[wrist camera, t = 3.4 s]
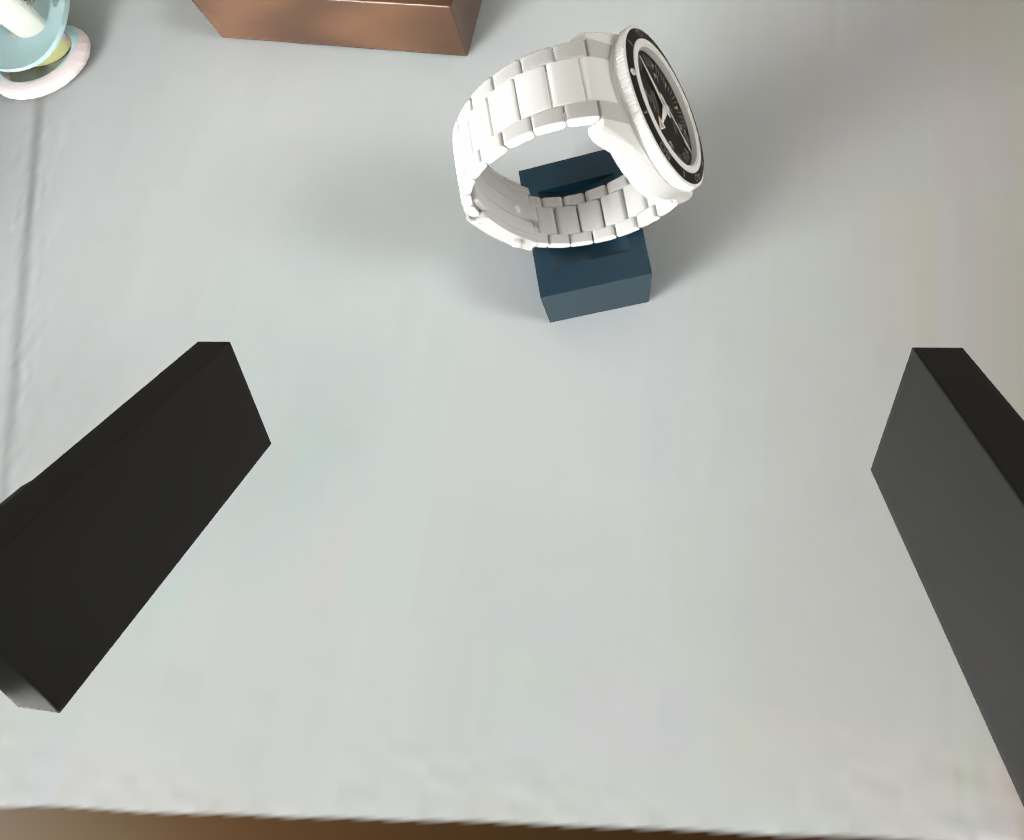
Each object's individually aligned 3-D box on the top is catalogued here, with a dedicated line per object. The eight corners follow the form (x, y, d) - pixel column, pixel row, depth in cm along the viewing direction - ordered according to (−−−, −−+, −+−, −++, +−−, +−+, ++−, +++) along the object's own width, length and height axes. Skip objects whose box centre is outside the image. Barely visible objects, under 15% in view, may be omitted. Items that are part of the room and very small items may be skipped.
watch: (694, 291, 26) (744, 133, 15) (511, 330, 27) (436, 209, 16) (668, 173, 27) (697, -54, 16) (492, 216, 28) (411, 31, 17)
